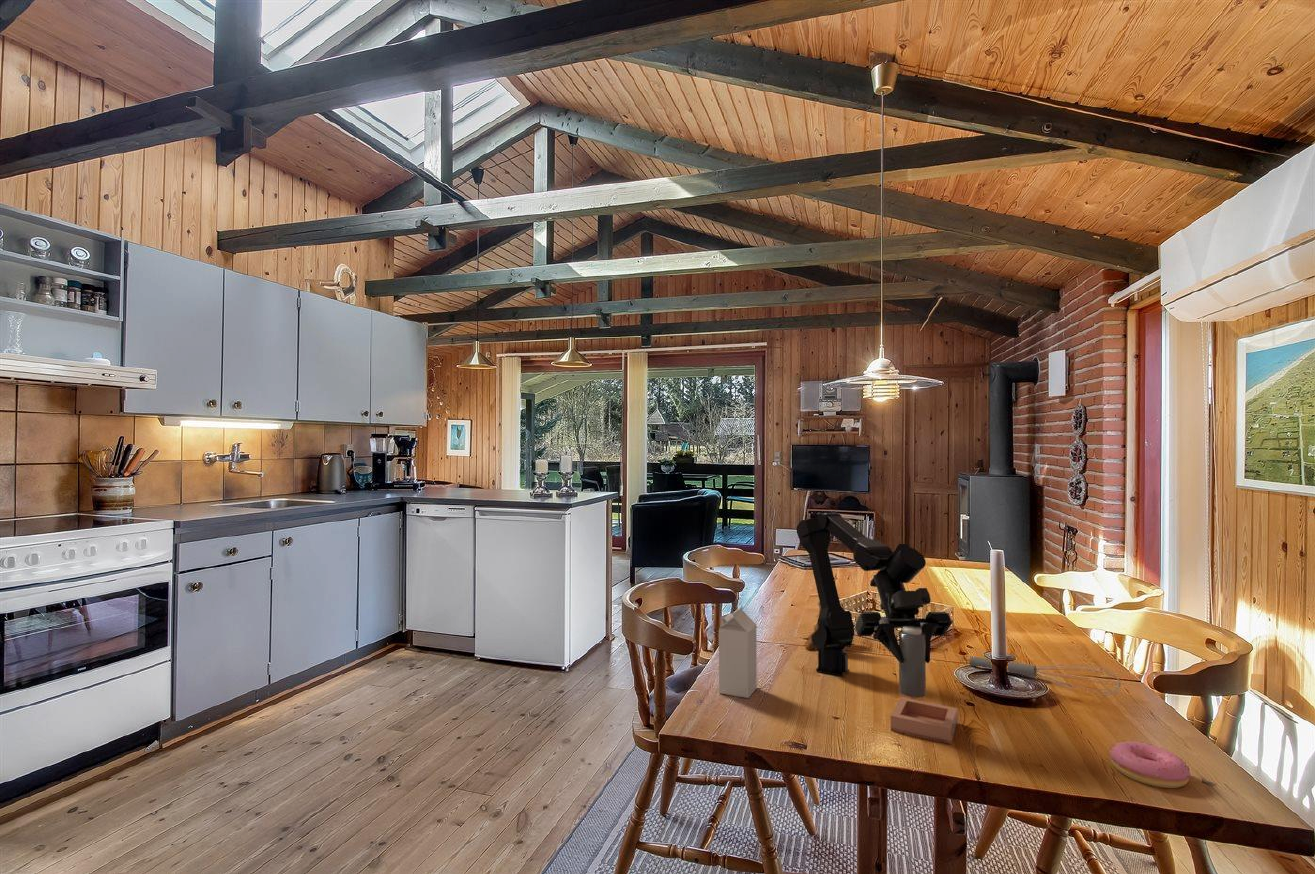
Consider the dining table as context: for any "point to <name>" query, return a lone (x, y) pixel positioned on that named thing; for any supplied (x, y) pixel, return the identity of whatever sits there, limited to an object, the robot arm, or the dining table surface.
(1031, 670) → the kitchen whisk
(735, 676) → the milk carton
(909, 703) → the terracotta holder
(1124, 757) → the doughnut
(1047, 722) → the dining table surface
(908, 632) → the pepper mill
